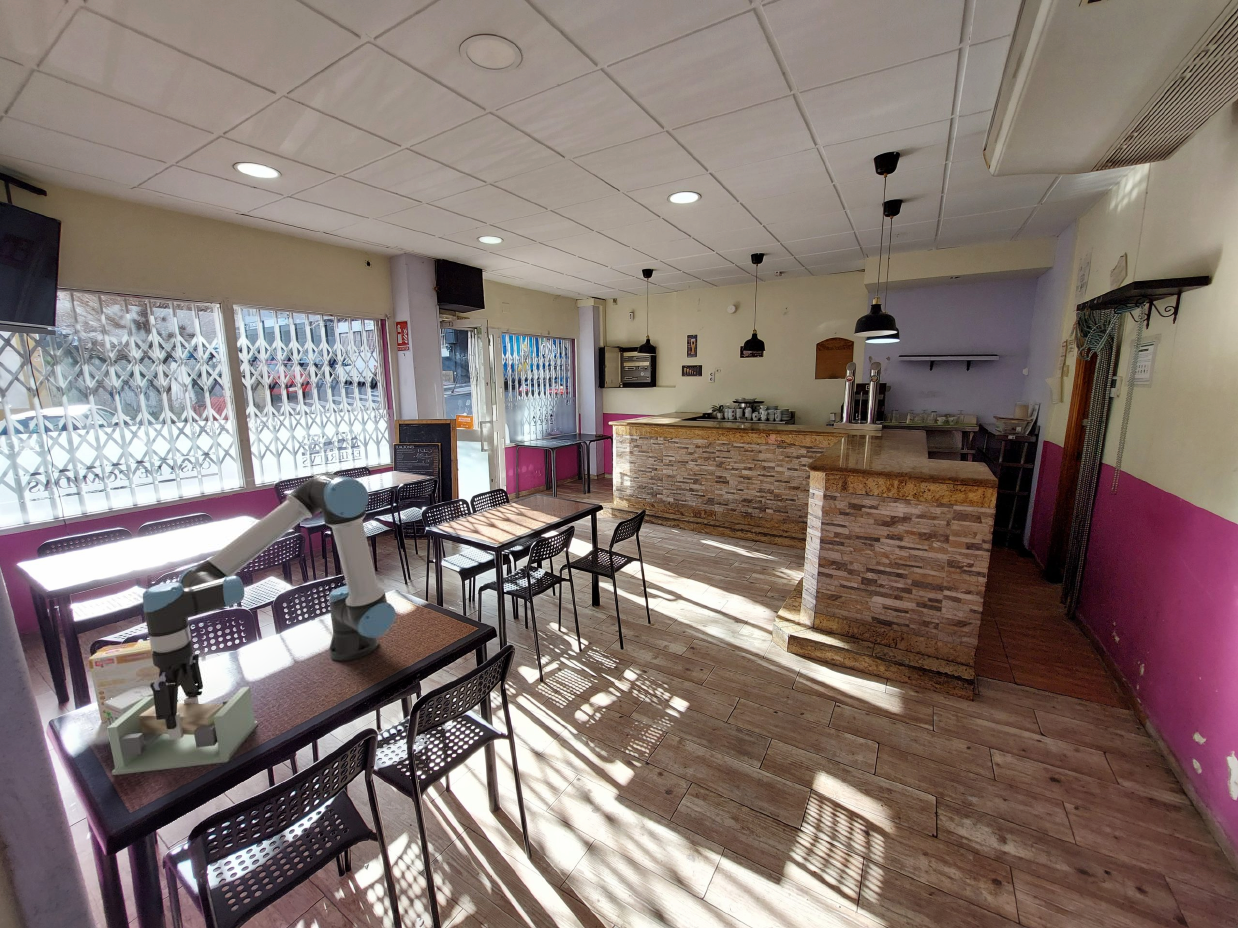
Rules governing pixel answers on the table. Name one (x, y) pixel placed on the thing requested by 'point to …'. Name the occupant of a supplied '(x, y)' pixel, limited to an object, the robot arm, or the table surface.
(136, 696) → the ink box
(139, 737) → the bracket stand
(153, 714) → the rail
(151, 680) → the coffeecake box
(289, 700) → the table surface
